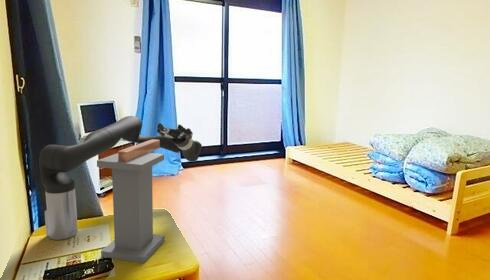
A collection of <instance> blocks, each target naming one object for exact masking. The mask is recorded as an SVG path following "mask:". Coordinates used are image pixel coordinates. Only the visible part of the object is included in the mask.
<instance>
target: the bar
mask: <svg viewBox="0 0 490 280" xmlns="http://www.w3.org/2000/svg"><path fill="white" fill-rule="evenodd" d="M159 149H161V148H160V140H155V139H152V140H149V141H146V142H143V143H140V144H139V143H136V144H135V145H132V146H129V147H126V148H124V149H121V150H118V152H117V153H118V161H130V160H132V159H134V158H137V157H139V156H142V155H144V154H146V153H152V152H153V151H156V150H159Z"/></svg>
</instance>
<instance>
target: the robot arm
mask: <svg viewBox="0 0 490 280" xmlns="http://www.w3.org/2000/svg"><path fill="white" fill-rule="evenodd" d="M142 126H143V121H142V120H141V118H139V117H138V116H134V115H127V116H125V117H122V118H120V119H118V120H117V121H115V122H114V123H111V124H109V125H107V126H105V127H102V128H99V129H96V130H94V131H91V132H89V133H88V134H87V135H86V136H85V137H84V140H83V142H80V143H76V144H74V145H63V144H61V145H59V144H48V145H46V146H44V147H43V148H42V149H41V150H40V154H39V158H38V160H39V161H38V162H39V170H40V171H39V172H40V178H41V183H42V185H43V187H44V191H45V193H44V194H45V202H46V210H44V223H45V224H44V225H45V234H46V237H48V238H49V239H50V240H55V241H56V240H57V241H59V240H67V239H69V238H70V239H71V238H73V237H74V236H77V234H78V231H79V230H78V218H77V217H78V213H77V212H78V211H77V198H76V183H75V180H74V179H73V178H71V177H70V176H69V175H67V173H69V172H71V171H74V170H75V169H76V168H78V167H80V166H81V165H83V164H84V163H86V162H87V161H88V160H91V159H92V158H95V157H96V156H99V155H100V154H102V153H105V152H107V151H108V150H111V149H112V148H114V147H115V146H116V145H117V144H118V143H119V142H120V141H121V140H124V141H127V142H131V143H135V144H140V143H143V142H146V141H149V140H152V139H155V140H160V148H159V149H164V150H167V151H170V152H173V153H176V154H177V153H178V154H179V153H180V152H182V155H183V157H184V158H185V160H187V161H188V162H192V163H193V162H196V161H197V160H199V157H200V154H201V150H202V149H203V148H202V147H203V146H202V143H201V142H200V141H198V140H193V134H194V133H193V131H192V130H191V128H186V127H184V126H183V125H182V124H179V123H178V125H177V128H172V127H169V126H167V127H166V126H164V125H163V123H160V122H159V123H158V124H157V130H156V133H158V134H159V135H152V136H151V135H150V136H149V135H148V136H146V135H143V134H141V131H142V128H143V127H142Z"/></svg>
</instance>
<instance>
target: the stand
mask: <svg viewBox="0 0 490 280" xmlns="http://www.w3.org/2000/svg"><path fill="white" fill-rule="evenodd" d="M164 160H165V153H158V152H157V153H155V152H154V153H153V152H149V153H146V154H144V155H142V156H139V157H137V158H134V159H132V160H130V161H118V152H117V153H114V154H111V155H109V156H105V157H103V158H100V159H97V160H96V167H97V168H104V169H111V179H112V180H111V181H112V183H111V184H112V202H113V203H112V205H113V206H112V207H113V230H114V231H113V232H114V233H113V235H114V236H113V238H114V240H113V241H111V242H110V243H109V244H108V245H107V246H104V248H103V249H101V250H100V256H101V257H102V258H108V259H109V258H110V259H115V260H122V261H128V262H134V263H140V264H145V262H147V261H148V260H149V258H150V257H151V256H152V255H153V254H154V253H155V252H156V251H157V250H158V249H159V247H160V246H161V245H162V244H163V243H164V242H166V241H165V240H166V238H165V237H166V236H165V235H166V234H165V235H164V234H157V233H154V222H153V221H154V216H153V215H154V214H153V213H154V209H153V208H154V207H153V204H154V203H153V202H154V201H153V166H156V165H157V164H159V163H161V162H163V161H164Z"/></svg>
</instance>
